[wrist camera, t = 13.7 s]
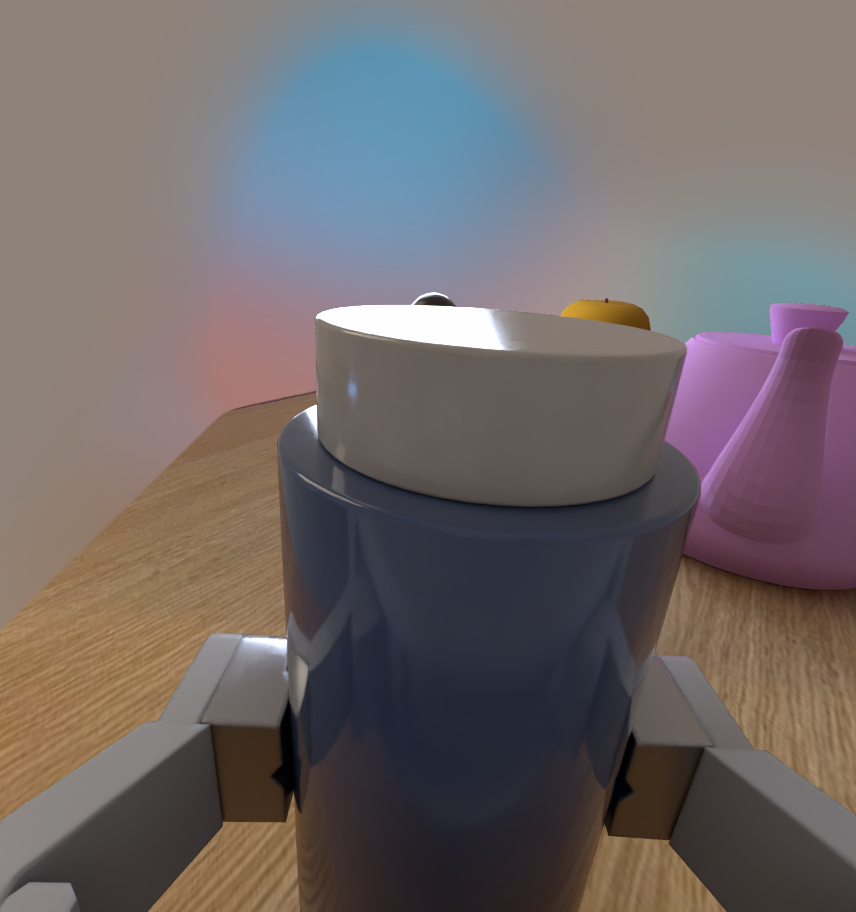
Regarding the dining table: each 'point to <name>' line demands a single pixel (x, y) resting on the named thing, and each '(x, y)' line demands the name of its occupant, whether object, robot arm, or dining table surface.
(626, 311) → the apple
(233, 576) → the dining table surface
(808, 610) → the dining table surface
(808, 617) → the dining table surface
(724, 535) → the teapot
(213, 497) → the dining table surface
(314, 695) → the blue shaker
